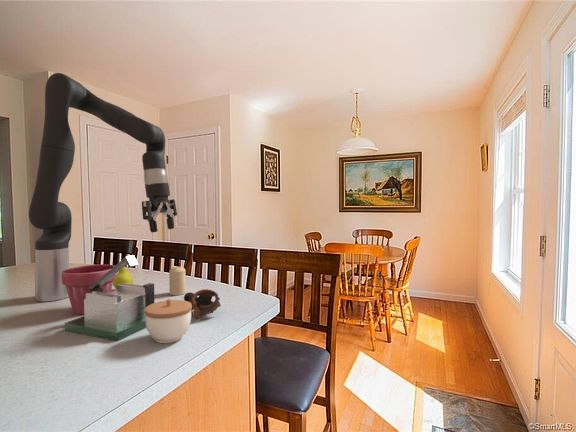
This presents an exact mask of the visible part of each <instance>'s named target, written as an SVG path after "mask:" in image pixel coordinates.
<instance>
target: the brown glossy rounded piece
mask: <svg viewBox="0 0 576 432" xmlns="http://www.w3.org/2000/svg"><path fill="white" fill-rule="evenodd" d="M183 295H184V296H183V300H184V301H188V302H190V303H191V304H192V309H191V311H193V314H192V316H193V318H194V319H195V320H198V319H199V318H200V317H201V318H202V317H205V316H206V315H210V314H213V313H214V311H215V312H216V310H217V309H218V308H219V307H221V303H220V300H221V298H220V297H219V295H218V293H217V292H216V291H215V290H212V289H210V288H209V289H208V288H206V289H205V288H203V289H199V290H198V291H196V292H195V293H194V292H185V294H183ZM213 297H214V298H215V299H214V301H213V300H212V299H213Z"/></svg>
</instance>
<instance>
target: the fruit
mask: <svg viewBox="0 0 576 432" xmlns="http://www.w3.org/2000/svg"><path fill="white" fill-rule="evenodd" d="M122 283H128V284H134V276H133V275H132V274H131V273H130V272H128V268H127V267H126V266H125V267H123V268H122V269H121V270H120V271H119V272H117V273H116V278H115V279H114V280H113V284H112V286H113V287H114V288H115V289H116V290H117V285H122Z"/></svg>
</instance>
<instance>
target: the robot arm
mask: <svg viewBox="0 0 576 432" xmlns="http://www.w3.org/2000/svg"><path fill="white" fill-rule="evenodd" d="M44 91H45V92H44V120H43V130H42V131H43V132H42V138H41V142H40V143H41V144H40V149H39V160H38V167H37V174H36V179H35V180H36V181H35V186H34V191H33V193H32V194H33V195H32V197H31V202H30V205H29V208H28V219H29V222H30V223H31V225H32V226H33V227H34V228H36V229H38V230H42V234H41V236H40V237H39V238H38V239H37V240H36V241H35V242H34V249H35V250H34V252H35V253H34V254H35V270H34V296H35V297H34V299H35V300H36V301H37V302H53V301H55V302H56V301H60V300H64V299H67V298H69V296H68V293H67V289H66V285H63V284H62V271H63V270H66V269H69V268H70V256H69V252H70V251H69V248H70V247H69V246H70V245H69V244H70V241H71V239H72V226H73V225H72V224H73V223H72V219H73V218H72V217H73V216H72V211H71V209H70V207H69V206H68V205H67V204H66V203H64V202H61V201H59V195H60V190H61V187H62V186H63V183H64V181H65V179H66V178H67V177H68V175H69V173H70V172H71V170H72V168H73V165H74V161H75V152H76V144H75V140H74V135H73V134H72V130H71V127H70V123H69V110H70V108H71V109H72V108H73V109H75V110H79V111H81V112H85V113H88V114H90V115H92V116H94V117H96V118H98V119H100V120H101V121H102V122H104V123H105V124H107V125H108V126H110V127H112V128H114V129H115V130H118V131H120V132H122V133H123V134H127V135H128V136H130V137H132V138H133V139H135V140H136V141H138V142H140V143H141V144H145V147H146V149H145V150H146V151H145V152H144V153H143V154H142V157H141V160H142V166H143V182H144V189H145V196H146V198H147V199H148V200H143V201H141V210H142V213H141V214H142V219H143V221H144V220H145V221H147V222H148V224H149V230H150V233H157V232H158V231H159V230H158V223H157V218H158V216H159V214H162V215H164V216H165V217H166V224H167V225H166V227H167V229H168V230H173V229H175V221H174V218H175V217H176V216H178V211H177V206H176V205H177V204H176V200H175V199H173V198H172V199H169V197H170V196H171V192H170V191H171V189H170V184H169V177H168V171H167V167H166V161H165V153H166V136H165V133H164V131H163V129H162V128H161V127H159V126H158V125H155V124H153V123H151V122H149V121H147V120H145V119H143V118H140V117H138V116H136V115H135V114H134V113H132V112H130V111H128V110H126V109H124V108H122V107H121V106H119V105H116V104H113V103H111V102H108V101H106V100H103V99H102V98H101V97H99V96H97V95H95V94H94V93H93V92H92V91H90V90H89V89H87V88H86V87H85V86H84V85H83V84H82V83H80V82H79V81H77V80H75V79H73V78H72V77H70V76H68V75H66V74H64V73H61V72H55V73H53V74H51V75H50V76H49V77H48V79H47V81H46V83H45V88H44Z"/></svg>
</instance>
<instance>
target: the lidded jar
mask: <svg viewBox="0 0 576 432" xmlns="http://www.w3.org/2000/svg"><path fill="white" fill-rule="evenodd" d="M191 309H192V304H191V303H190V302H188V301H184V299H182V300H181V299H171V298H168V299H166V300H161V301H157V302H154V303H153V304H151V305H149V306H147V307H146V308H145V322H146V327H147V328H146V330H147V332H148V334H149V336H151V338H152V339H154V340H155V342H157V343H160V344H169V343H175V342H177V341H180V340H181V339H182V338H183V335H185V334H186V332H187V331H188V330H189V328H190V325H191V322H192V321H191V320H192V310H191Z"/></svg>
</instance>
